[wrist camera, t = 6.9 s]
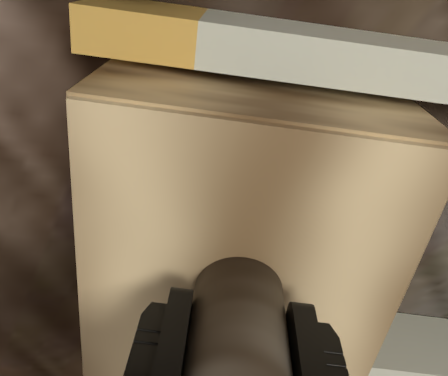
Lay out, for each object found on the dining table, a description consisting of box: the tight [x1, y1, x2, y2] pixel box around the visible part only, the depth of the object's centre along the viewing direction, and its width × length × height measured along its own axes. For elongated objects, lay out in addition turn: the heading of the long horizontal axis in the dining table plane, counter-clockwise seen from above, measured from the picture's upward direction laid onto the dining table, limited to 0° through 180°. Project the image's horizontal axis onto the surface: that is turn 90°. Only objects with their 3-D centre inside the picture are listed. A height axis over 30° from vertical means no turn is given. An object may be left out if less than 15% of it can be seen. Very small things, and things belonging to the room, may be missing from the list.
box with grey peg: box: [66, 59, 448, 376], centre depth 14 cm, size 11×12×15 cm
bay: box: [69, 0, 448, 376], centre depth 18 cm, size 24×16×6 cm, turn 83°
